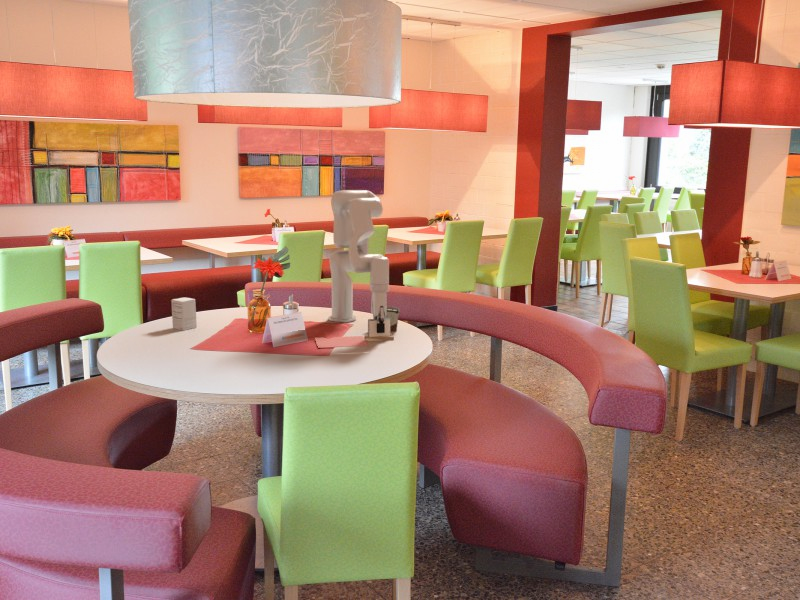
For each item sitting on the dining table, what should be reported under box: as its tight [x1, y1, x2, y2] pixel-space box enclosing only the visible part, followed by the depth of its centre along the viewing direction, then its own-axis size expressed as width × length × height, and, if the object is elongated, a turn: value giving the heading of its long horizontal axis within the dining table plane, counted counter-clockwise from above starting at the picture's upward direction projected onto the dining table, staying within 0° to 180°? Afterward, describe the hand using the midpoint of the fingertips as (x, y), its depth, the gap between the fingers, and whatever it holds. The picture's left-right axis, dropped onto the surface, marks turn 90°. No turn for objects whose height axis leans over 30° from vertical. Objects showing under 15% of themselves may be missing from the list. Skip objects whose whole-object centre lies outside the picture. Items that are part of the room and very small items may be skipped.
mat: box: [314, 335, 370, 349], centre depth 308 cm, size 16×20×1 cm
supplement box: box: [170, 296, 197, 331], centre depth 330 cm, size 7×7×13 cm
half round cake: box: [372, 306, 401, 332], centre depth 330 cm, size 12×6×10 cm, turn 84°
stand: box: [364, 333, 395, 342], centre depth 314 cm, size 6×11×2 cm, turn 102°
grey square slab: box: [367, 318, 392, 337], centre depth 313 cm, size 2×9×8 cm, turn 102°
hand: (379, 330), depth 313 cm, fingers open, 5 cm apart
